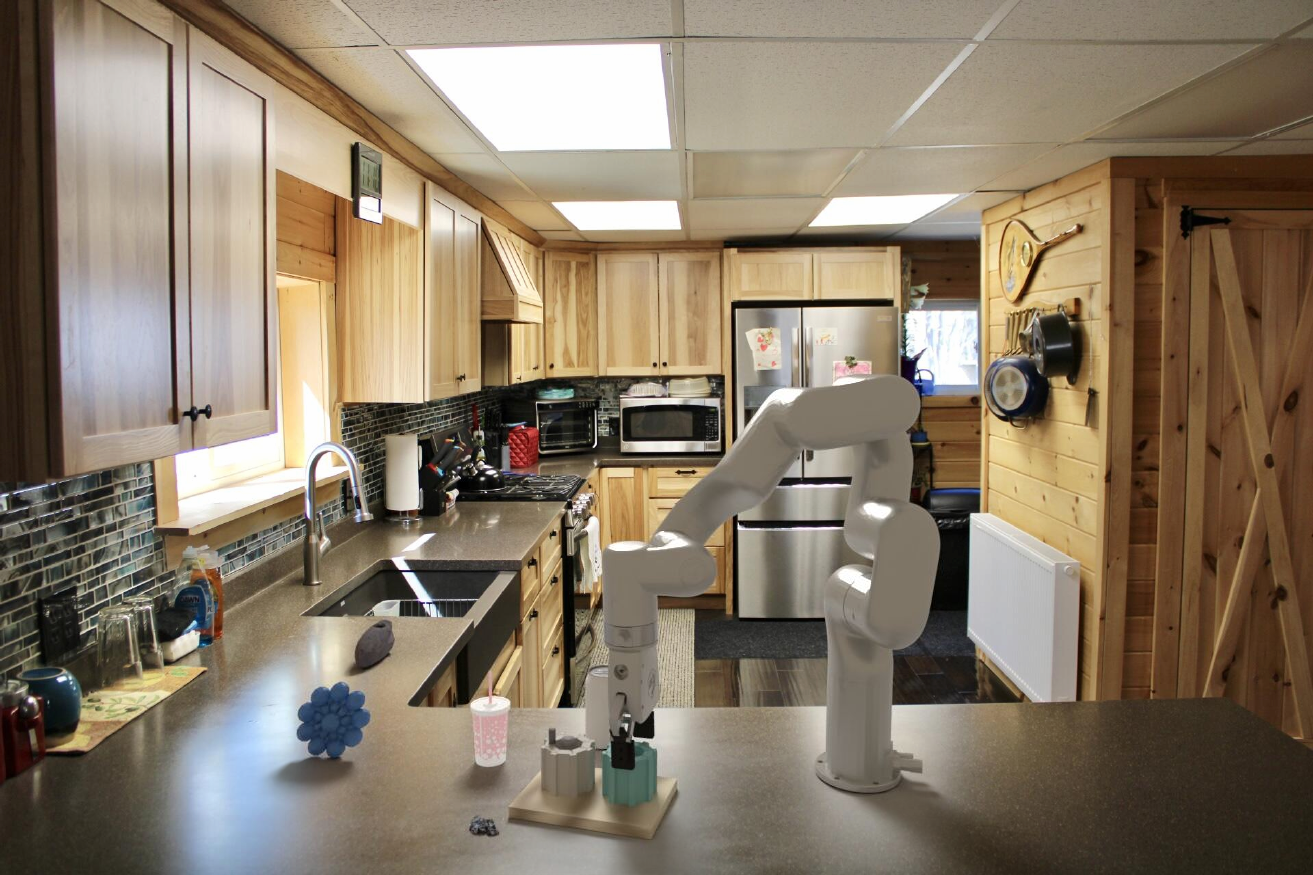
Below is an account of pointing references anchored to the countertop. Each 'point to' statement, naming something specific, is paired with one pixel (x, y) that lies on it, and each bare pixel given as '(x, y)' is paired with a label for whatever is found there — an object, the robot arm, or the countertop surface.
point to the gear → (567, 764)
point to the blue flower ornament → (332, 720)
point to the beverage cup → (490, 728)
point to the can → (597, 706)
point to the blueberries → (483, 826)
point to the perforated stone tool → (374, 644)
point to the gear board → (594, 809)
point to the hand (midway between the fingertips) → (633, 752)
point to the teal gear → (631, 777)
